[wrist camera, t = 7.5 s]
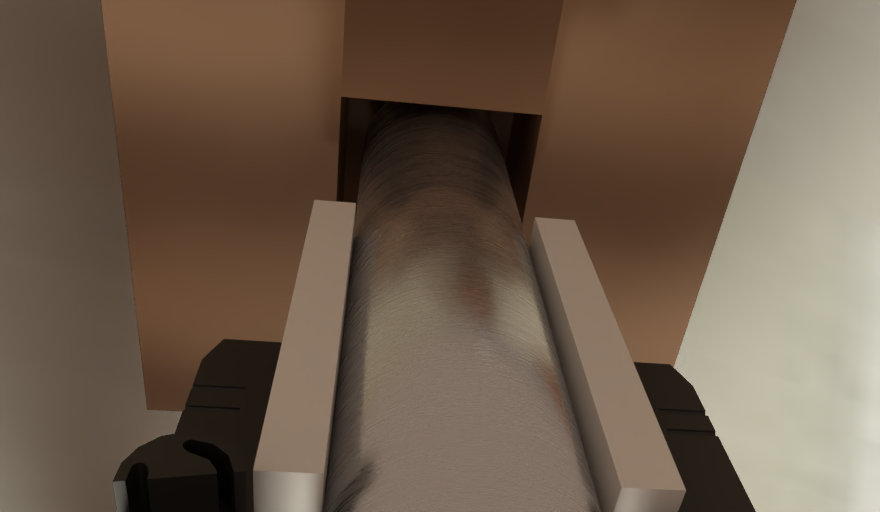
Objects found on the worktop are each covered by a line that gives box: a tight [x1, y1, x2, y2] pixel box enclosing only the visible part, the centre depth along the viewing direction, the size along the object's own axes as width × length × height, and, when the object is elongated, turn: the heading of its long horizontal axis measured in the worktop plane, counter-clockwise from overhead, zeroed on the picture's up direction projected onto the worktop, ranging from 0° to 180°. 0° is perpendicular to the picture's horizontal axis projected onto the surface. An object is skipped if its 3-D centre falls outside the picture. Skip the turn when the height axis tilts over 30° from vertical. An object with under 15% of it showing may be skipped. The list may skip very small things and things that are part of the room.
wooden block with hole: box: [101, 0, 796, 411], centre depth 20 cm, size 14×14×5 cm
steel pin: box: [323, 101, 602, 512], centre depth 13 cm, size 3×3×14 cm
